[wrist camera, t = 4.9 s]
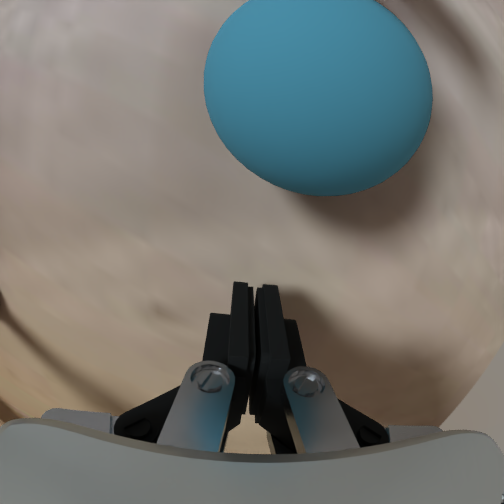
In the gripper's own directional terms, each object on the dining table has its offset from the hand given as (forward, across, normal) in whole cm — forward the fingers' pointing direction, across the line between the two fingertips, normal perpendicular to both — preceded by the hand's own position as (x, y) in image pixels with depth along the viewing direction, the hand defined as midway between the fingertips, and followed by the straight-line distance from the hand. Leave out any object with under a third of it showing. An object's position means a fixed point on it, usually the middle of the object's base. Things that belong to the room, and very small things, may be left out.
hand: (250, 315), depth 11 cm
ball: (-1, -1, -8) cm, 8 cm away
